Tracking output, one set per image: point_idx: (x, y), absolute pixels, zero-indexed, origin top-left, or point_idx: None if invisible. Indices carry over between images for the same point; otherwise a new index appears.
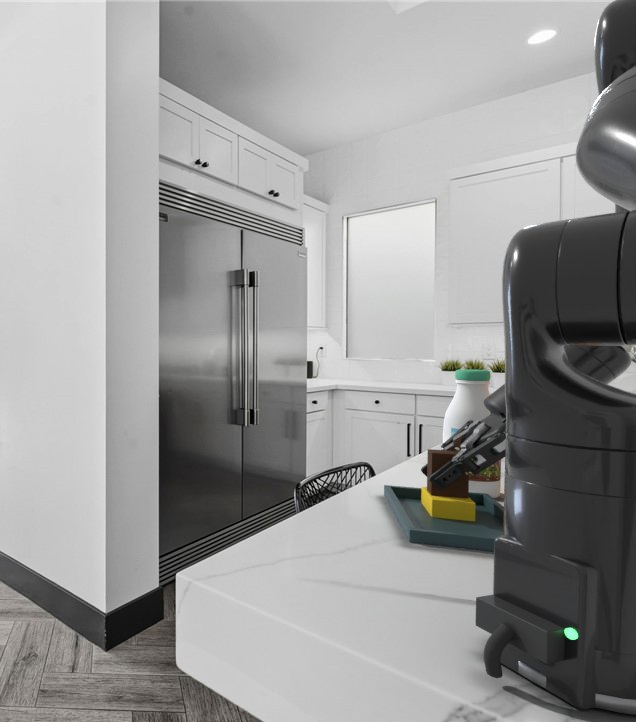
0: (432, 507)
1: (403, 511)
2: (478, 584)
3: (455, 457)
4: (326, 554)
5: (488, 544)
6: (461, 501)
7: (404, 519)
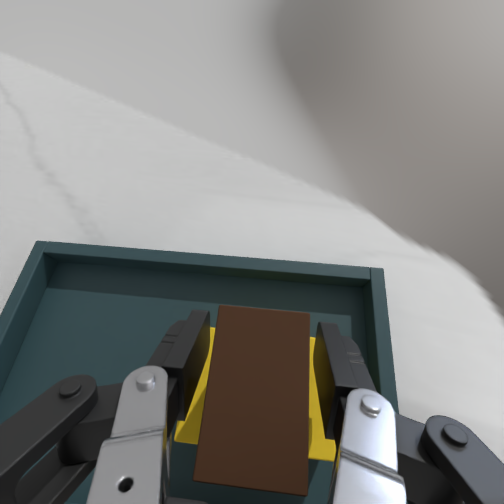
0: None
1: (149, 256)
2: None
3: (136, 379)
4: (31, 150)
5: None
6: None
7: (94, 245)
